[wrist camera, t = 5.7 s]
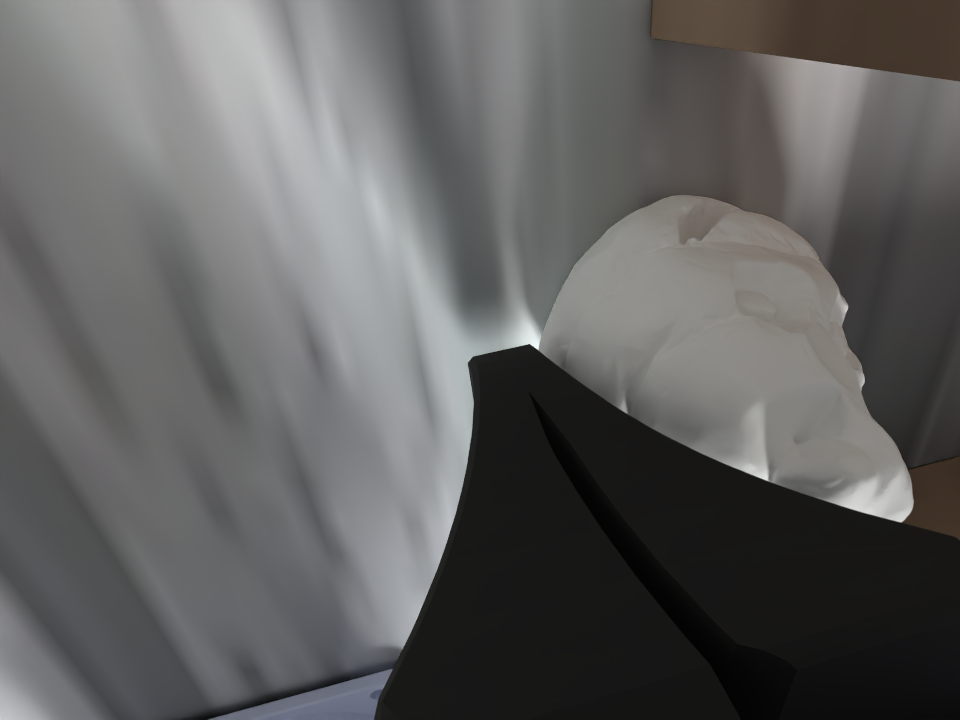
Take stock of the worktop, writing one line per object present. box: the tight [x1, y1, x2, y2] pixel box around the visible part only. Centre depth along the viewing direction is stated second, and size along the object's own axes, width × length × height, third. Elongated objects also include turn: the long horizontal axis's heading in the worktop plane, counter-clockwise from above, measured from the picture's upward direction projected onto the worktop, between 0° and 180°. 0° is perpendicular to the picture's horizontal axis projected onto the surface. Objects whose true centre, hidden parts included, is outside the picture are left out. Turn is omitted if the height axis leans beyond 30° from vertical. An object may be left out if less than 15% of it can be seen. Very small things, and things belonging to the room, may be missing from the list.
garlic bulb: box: [539, 195, 914, 522], centre depth 10 cm, size 6×6×5 cm
